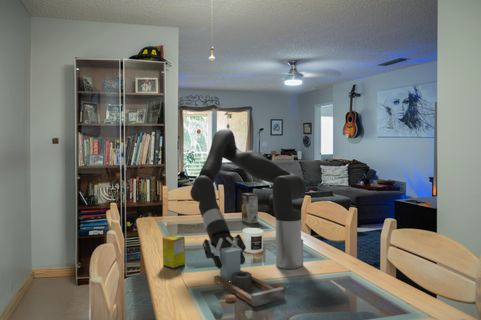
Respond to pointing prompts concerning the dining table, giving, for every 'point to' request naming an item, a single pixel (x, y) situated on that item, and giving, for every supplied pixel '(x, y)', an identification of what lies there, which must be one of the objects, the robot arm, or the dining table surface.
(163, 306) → the dining table surface
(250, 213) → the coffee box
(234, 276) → the rubber ring
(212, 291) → the dining table surface
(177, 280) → the dining table surface
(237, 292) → the guide channel
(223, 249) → the gray block
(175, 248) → the supplement box
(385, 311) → the dining table surface
